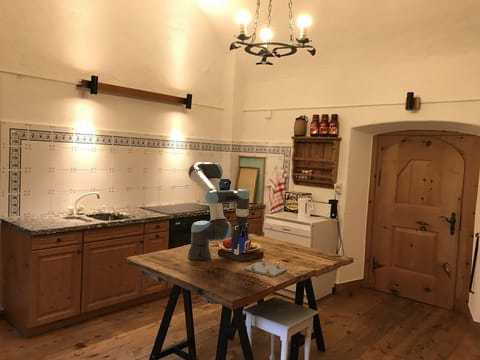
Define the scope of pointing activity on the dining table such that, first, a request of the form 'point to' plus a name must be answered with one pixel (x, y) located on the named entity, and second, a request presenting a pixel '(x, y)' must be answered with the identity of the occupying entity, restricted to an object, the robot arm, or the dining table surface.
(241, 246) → the mug
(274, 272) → the tray
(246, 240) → the robot arm
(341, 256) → the dining table surface
